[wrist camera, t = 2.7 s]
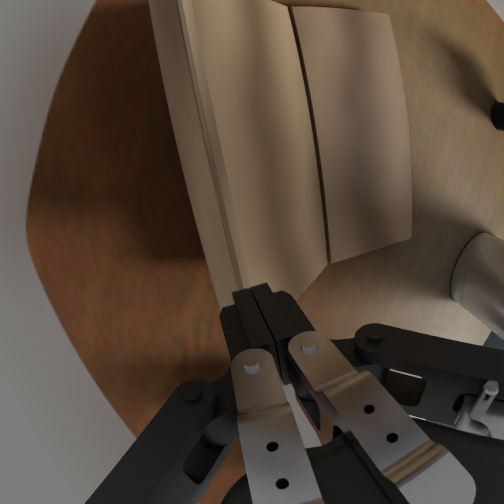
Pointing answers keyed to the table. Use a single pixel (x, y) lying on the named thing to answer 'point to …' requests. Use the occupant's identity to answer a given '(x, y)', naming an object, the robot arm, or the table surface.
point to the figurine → (498, 115)
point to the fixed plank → (356, 127)
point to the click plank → (243, 141)
